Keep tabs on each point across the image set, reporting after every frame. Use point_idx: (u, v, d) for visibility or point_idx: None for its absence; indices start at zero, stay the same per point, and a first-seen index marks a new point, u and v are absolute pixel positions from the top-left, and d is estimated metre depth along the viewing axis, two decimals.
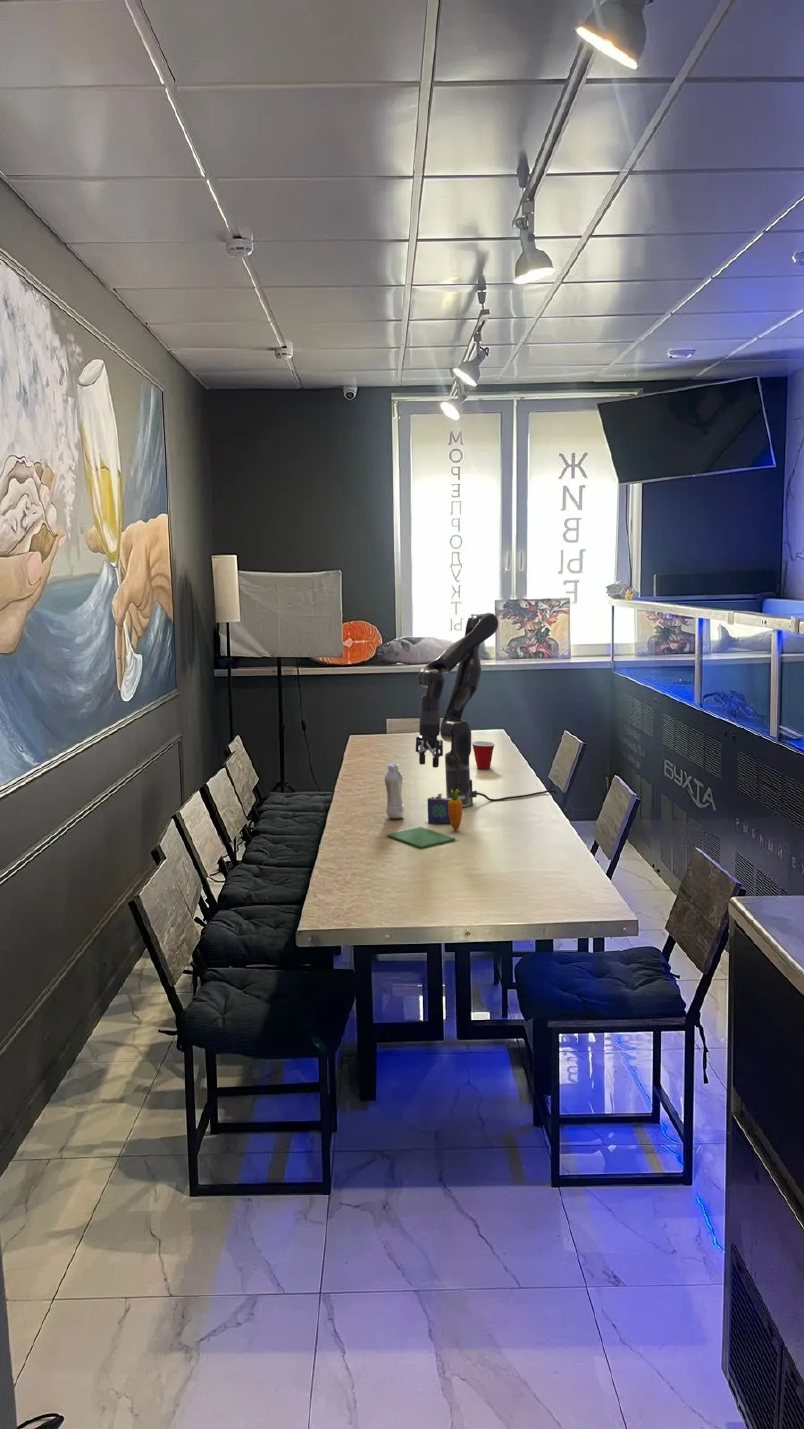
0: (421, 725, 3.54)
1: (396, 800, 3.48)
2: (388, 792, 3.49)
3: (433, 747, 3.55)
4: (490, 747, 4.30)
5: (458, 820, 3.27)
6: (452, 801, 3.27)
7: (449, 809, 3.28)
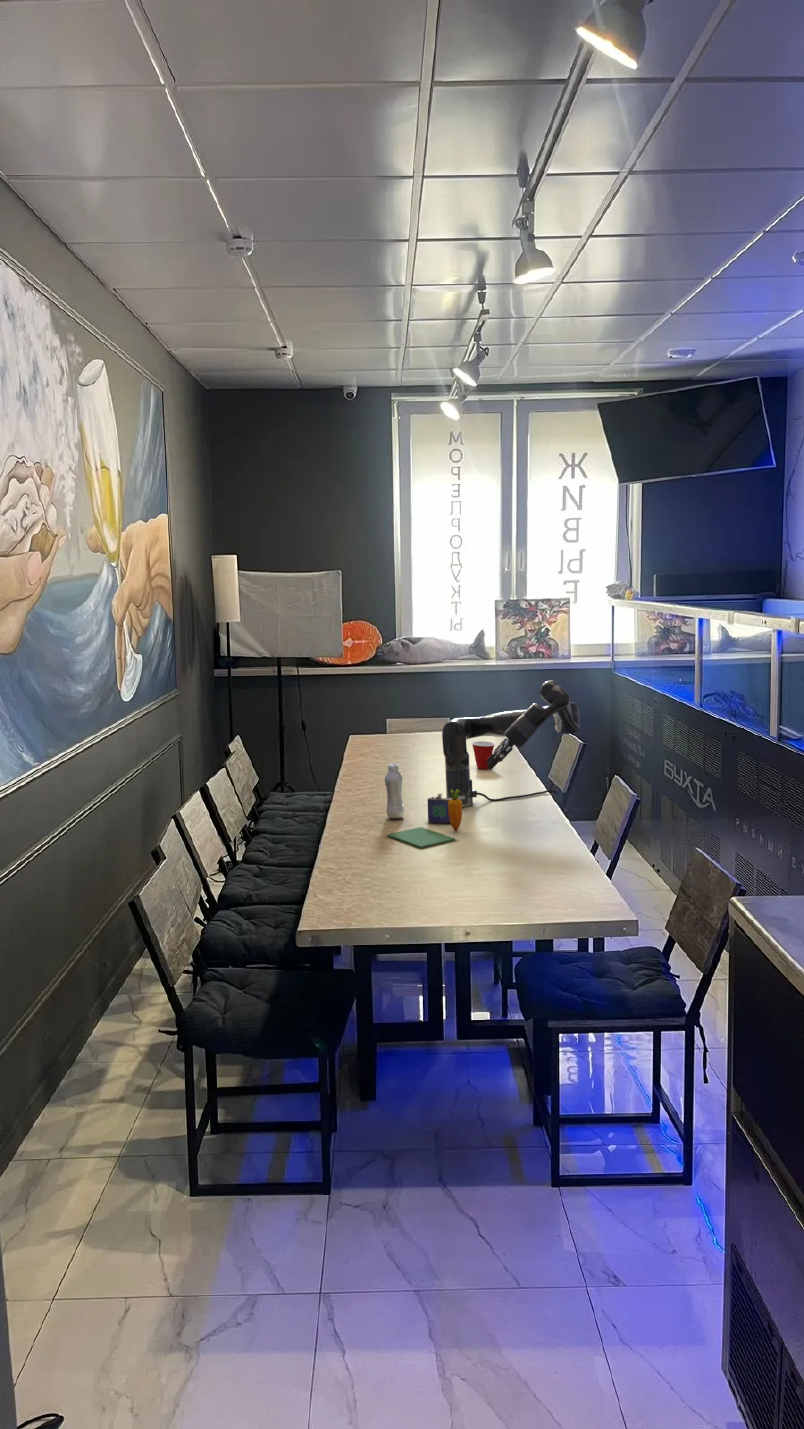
0: (511, 725, 3.23)
1: (396, 800, 3.48)
2: (388, 792, 3.49)
3: None
4: (490, 747, 4.30)
5: (458, 820, 3.27)
6: (452, 801, 3.27)
7: (449, 809, 3.28)
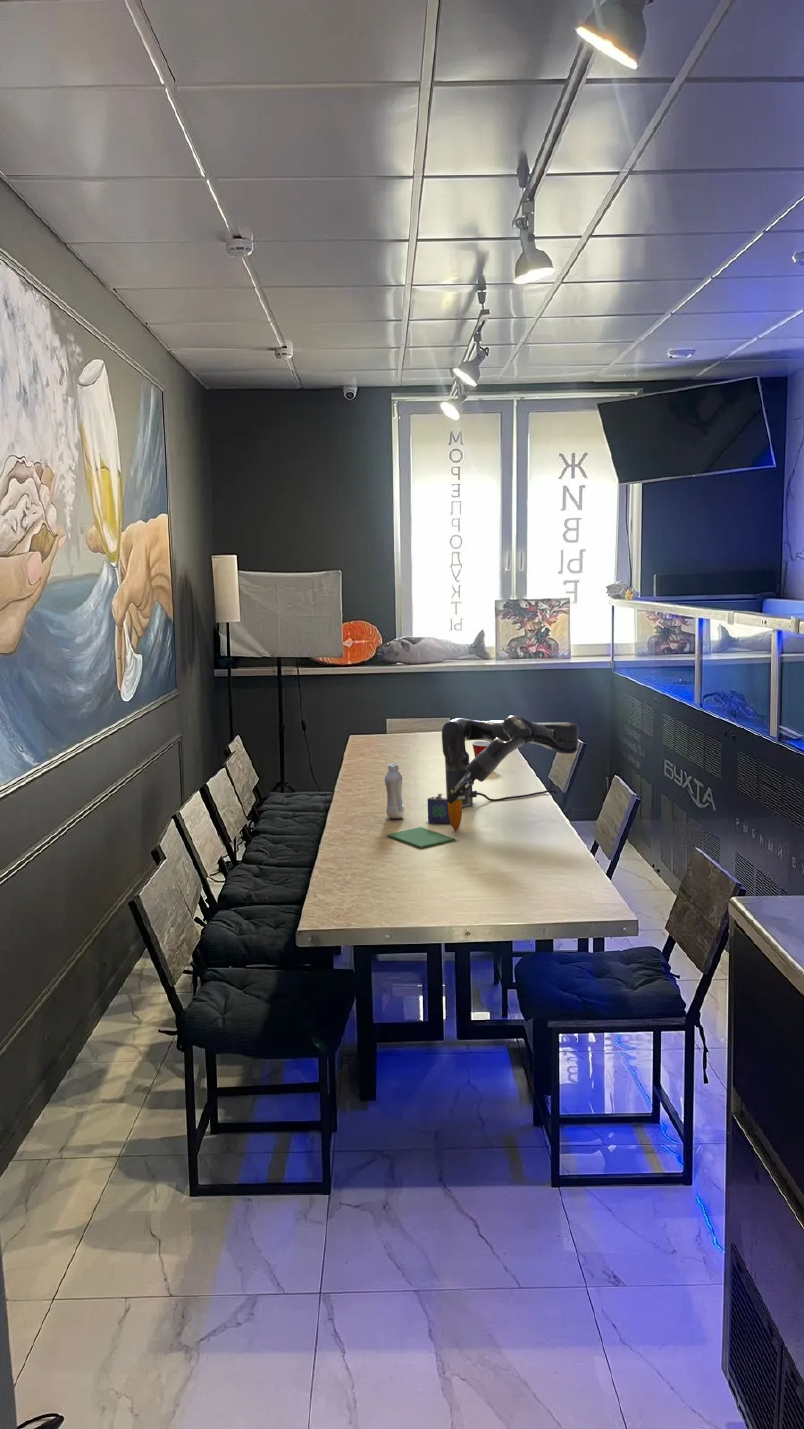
0: (473, 759, 3.25)
1: (396, 800, 3.48)
2: (388, 792, 3.49)
3: None
4: None
5: (458, 820, 3.27)
6: None
7: (449, 809, 3.27)
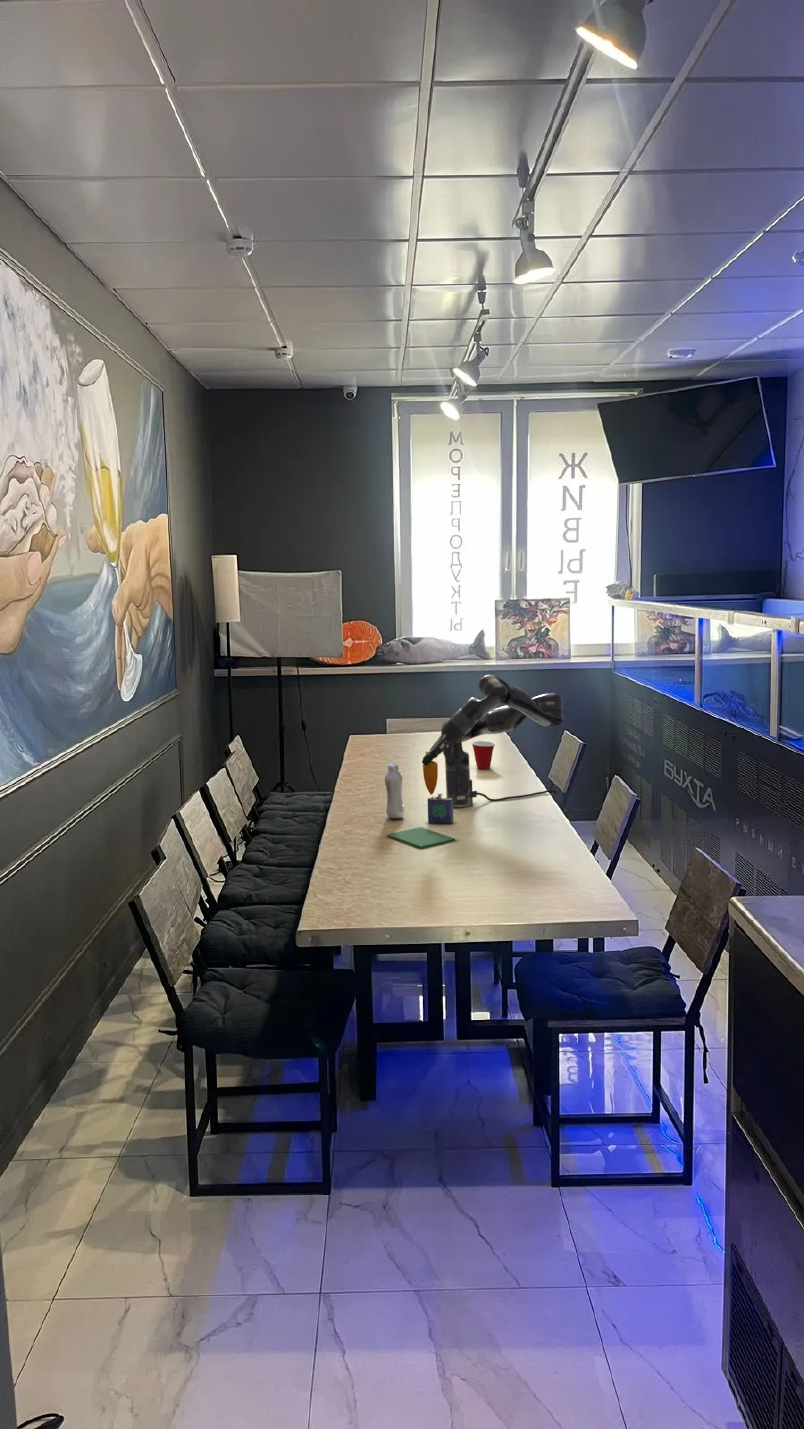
0: None
1: (396, 800, 3.48)
2: (388, 792, 3.49)
3: None
4: (490, 747, 4.30)
5: (433, 783, 3.20)
6: None
7: (424, 771, 3.20)
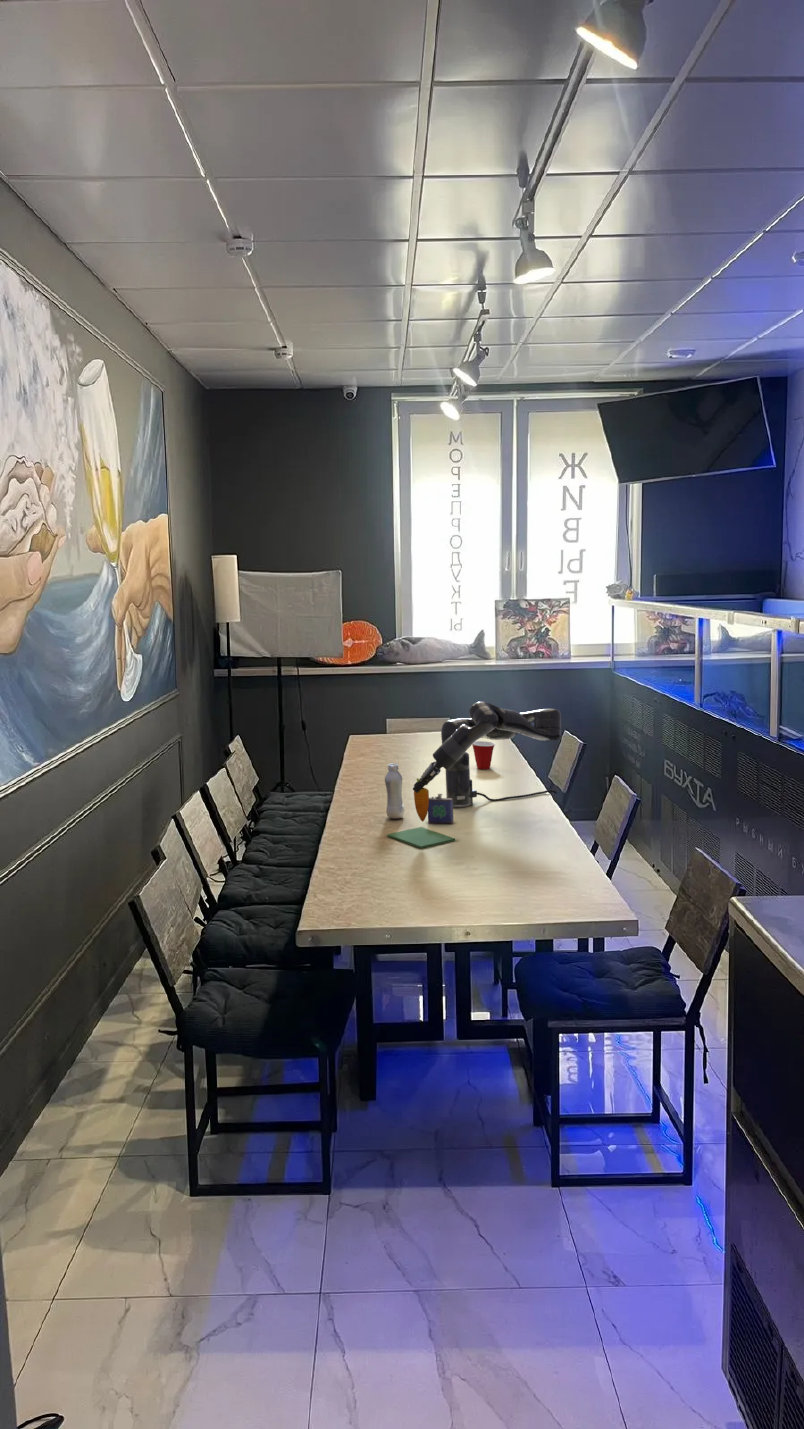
0: None
1: (396, 800, 3.48)
2: (388, 792, 3.49)
3: None
4: (490, 747, 4.30)
5: (425, 809, 3.19)
6: None
7: (415, 798, 3.19)
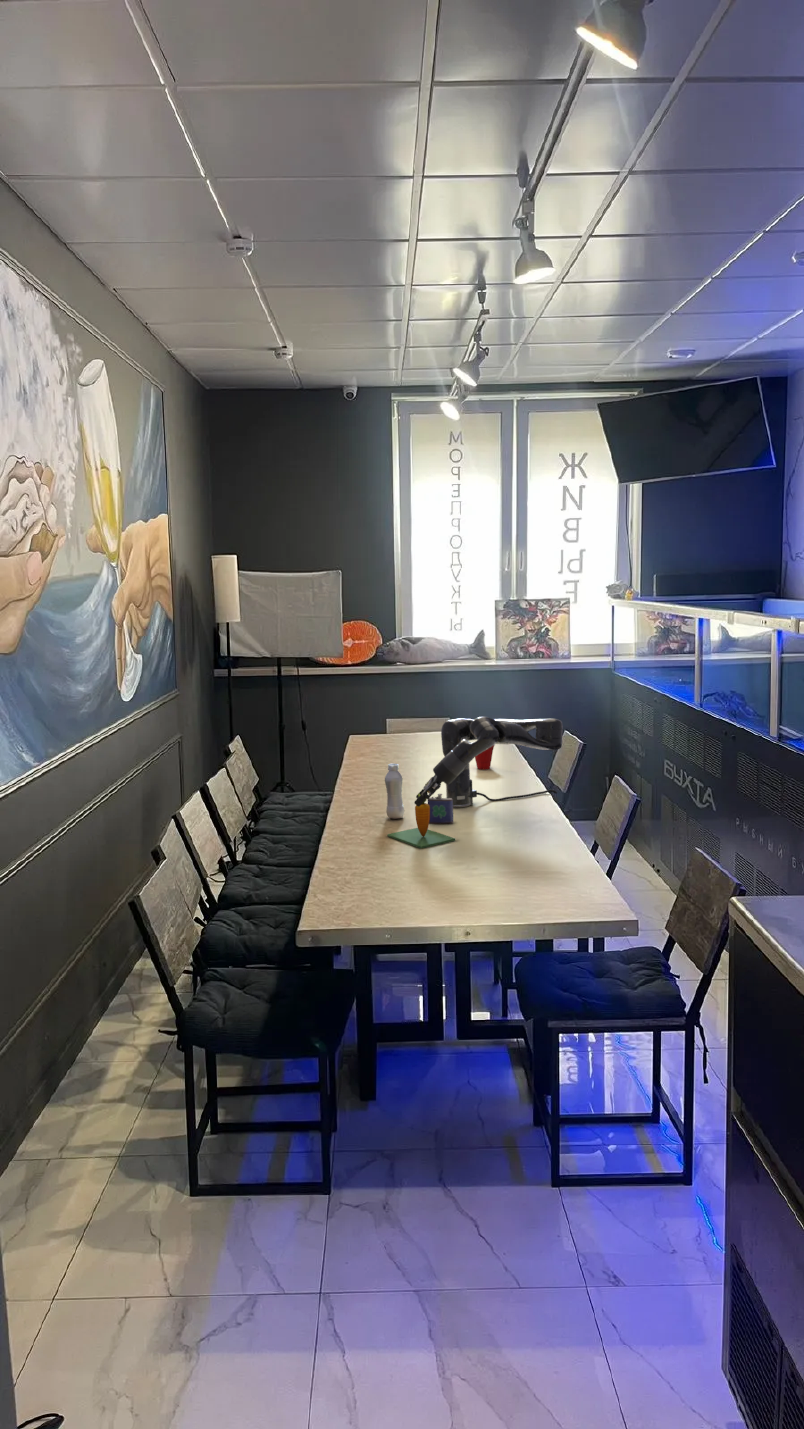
0: (440, 761, 3.18)
1: (396, 800, 3.48)
2: (388, 792, 3.49)
3: None
4: (490, 747, 4.30)
5: (425, 825, 3.20)
6: None
7: (416, 814, 3.20)
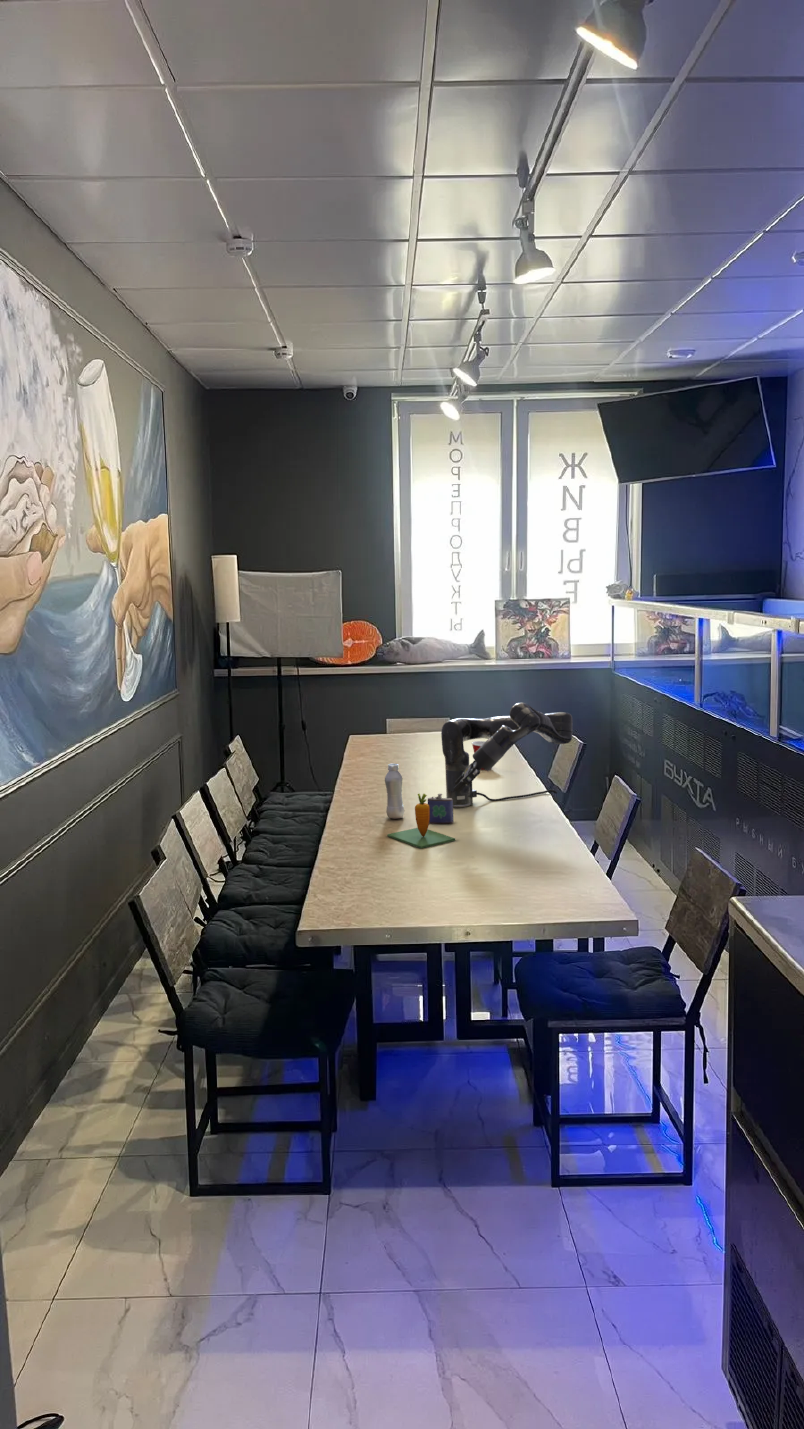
0: None
1: (396, 800, 3.48)
2: (388, 792, 3.49)
3: None
4: None
5: (425, 825, 3.20)
6: (419, 805, 3.19)
7: (416, 814, 3.20)
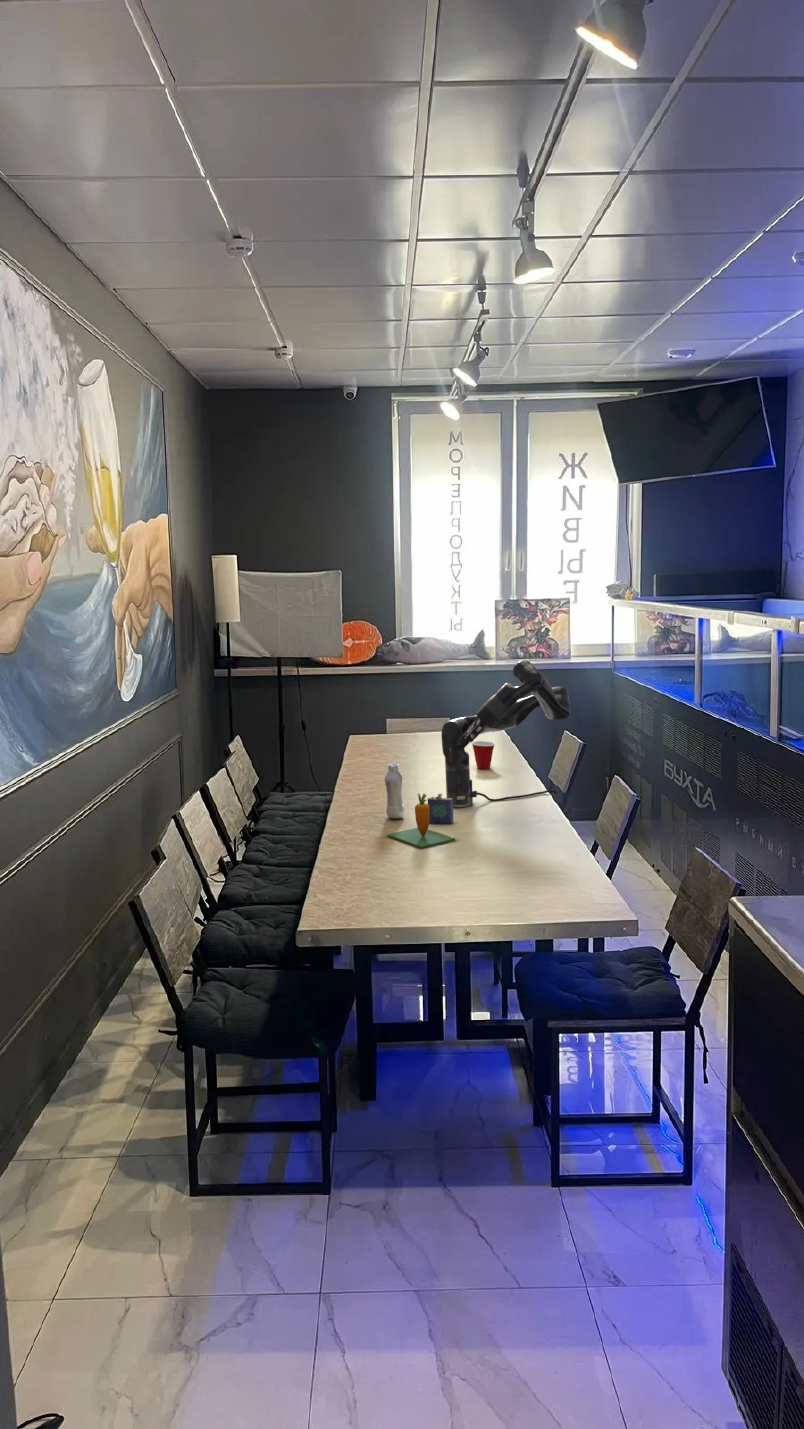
0: (483, 705, 3.18)
1: (396, 800, 3.48)
2: (388, 792, 3.49)
3: None
4: (490, 747, 4.30)
5: (425, 825, 3.20)
6: (419, 805, 3.19)
7: (416, 814, 3.20)
